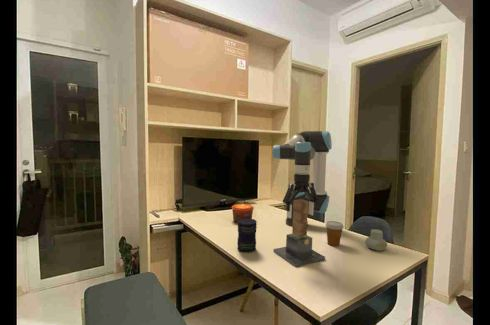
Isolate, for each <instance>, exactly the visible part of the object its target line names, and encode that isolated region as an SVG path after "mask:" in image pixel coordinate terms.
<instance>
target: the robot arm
mask: <svg viewBox="0 0 490 325" xmlns="http://www.w3.org/2000/svg"><path fill="white" fill-rule="evenodd" d="M332 145H333V143H332V136H331V133H330V132H329V131H326V130H317V131H316V130H314V131H313V130H306V131H304V130H303V131H300V132H298V133H295V134H294V135H292V136H291V137H290V139H289V140H288V141H286V142H284V143H283V144H281V145H280V144H277V145H276V144H275V145H274V146H273V147H272V151H271V155H272V157H273V159H275V160H290V161H294V166H293V167H294V170H293V172H294V175H293V181H294V183H289V184H288V186H287V187H288V188H287V190H286V193H285V194H284V197H283V199H282V203H283V204H285V211H286V219H285V225H287V226H288V227H289V226H290V227H293V203H294V200H299V199H302V200H305V201H308V215H310V216H314V212H316V213H323V214H325V213H326V212H327V210H328V208H329V203H330V196H329V195H328V192H327V191H326V176H327V175H326V172H327V171H326V170H327V155H328V154H329V152H330V150H332ZM311 160H312V164H311ZM311 165H312V166H311ZM311 167H312V168H311ZM310 173H311V176H310ZM310 177H311V178H310ZM310 180H311V182H310ZM308 222H309V221H308V220H307V226H308V225H309V224H308Z"/></svg>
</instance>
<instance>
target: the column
mask: <svg viewBox="0 0 490 325" xmlns="http://www.w3.org/2000/svg"><path fill="white" fill-rule="evenodd" d="M308 213H309V211H308V201H305V200H302V199H299V200H294V203H293V226H292V229H291V230H292V231H291V234H292V236H293V237H295V238H297V239H302V238H307V236H308V234H307V233H308V225H307V221H308V216H309V214H308Z"/></svg>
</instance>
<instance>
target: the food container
mask: <svg viewBox="0 0 490 325" xmlns="http://www.w3.org/2000/svg"><path fill="white" fill-rule="evenodd" d="M231 209H232V210H231V211H232V219H233V222H234V223H236V224H238V220H240V219H245V218H248V219H253V214H254V209H255V208H254V206H253V205H251V204H248V203H247V204H246V203H239V204H238V203H237V204H233V205H232V206H231Z"/></svg>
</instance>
